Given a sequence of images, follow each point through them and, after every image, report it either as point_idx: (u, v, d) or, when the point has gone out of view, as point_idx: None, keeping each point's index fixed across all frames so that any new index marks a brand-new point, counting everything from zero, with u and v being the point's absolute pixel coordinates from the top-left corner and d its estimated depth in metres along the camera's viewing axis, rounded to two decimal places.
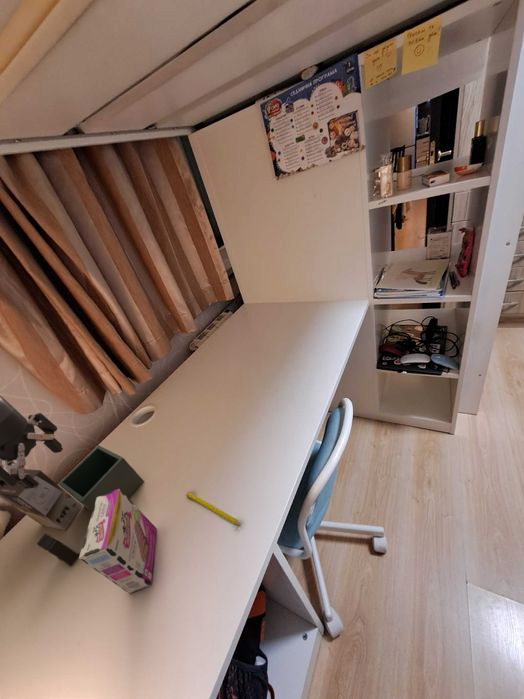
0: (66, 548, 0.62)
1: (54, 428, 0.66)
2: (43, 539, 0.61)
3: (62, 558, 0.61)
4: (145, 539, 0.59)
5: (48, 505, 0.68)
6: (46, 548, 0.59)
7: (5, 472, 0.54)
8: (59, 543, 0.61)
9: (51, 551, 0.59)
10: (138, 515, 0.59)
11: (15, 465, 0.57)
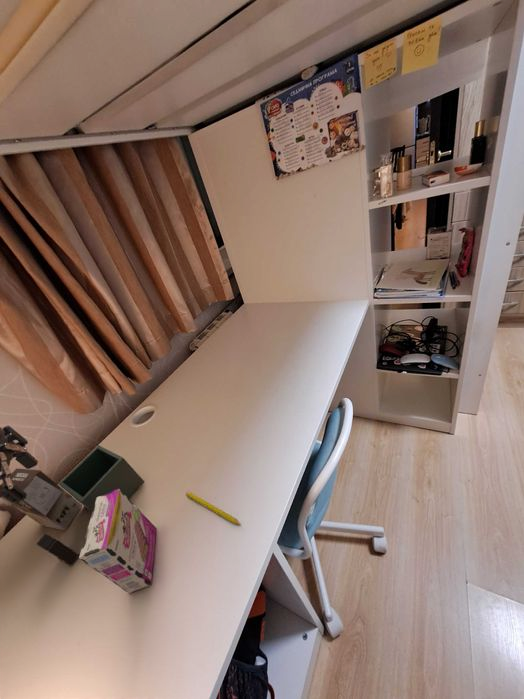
0: (66, 548, 0.62)
1: (25, 441, 0.62)
2: (43, 539, 0.61)
3: (62, 558, 0.61)
4: (145, 539, 0.59)
5: (48, 505, 0.68)
6: (46, 548, 0.59)
7: None
8: (59, 543, 0.61)
9: (51, 551, 0.59)
10: (138, 515, 0.59)
11: (0, 476, 0.53)
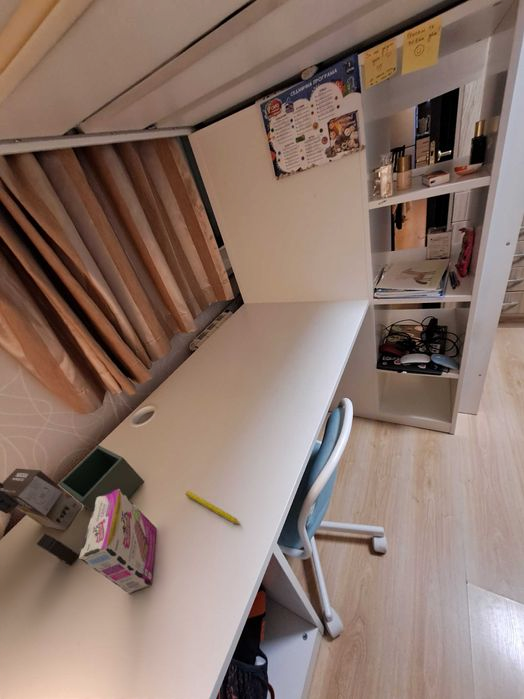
0: (66, 548, 0.62)
1: None
2: (43, 539, 0.61)
3: (62, 558, 0.61)
4: (145, 539, 0.59)
5: (48, 505, 0.68)
6: (46, 548, 0.59)
7: None
8: (59, 543, 0.61)
9: (51, 551, 0.59)
10: (138, 515, 0.59)
11: None
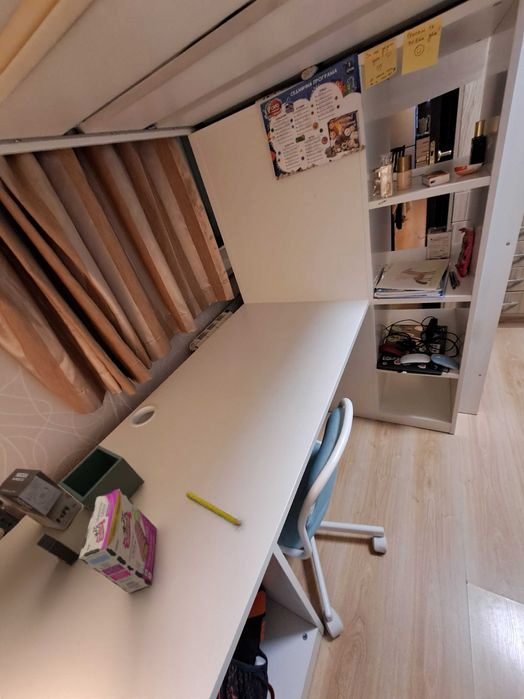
0: (66, 548, 0.62)
1: None
2: (43, 539, 0.61)
3: (62, 558, 0.61)
4: (145, 539, 0.59)
5: (48, 505, 0.68)
6: (46, 548, 0.59)
7: None
8: (59, 543, 0.61)
9: (51, 551, 0.59)
10: (138, 515, 0.59)
11: None
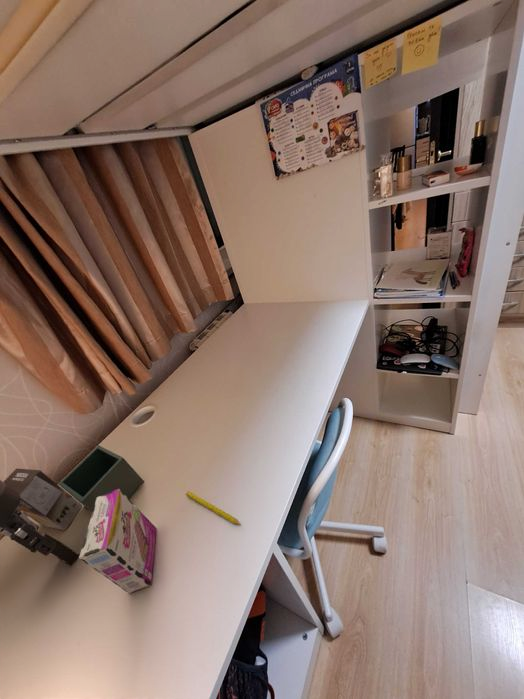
0: (66, 548, 0.62)
1: None
2: None
3: (62, 558, 0.61)
4: (145, 539, 0.59)
5: (48, 505, 0.68)
6: None
7: (34, 530, 0.53)
8: (59, 543, 0.61)
9: None
10: (138, 515, 0.59)
11: None
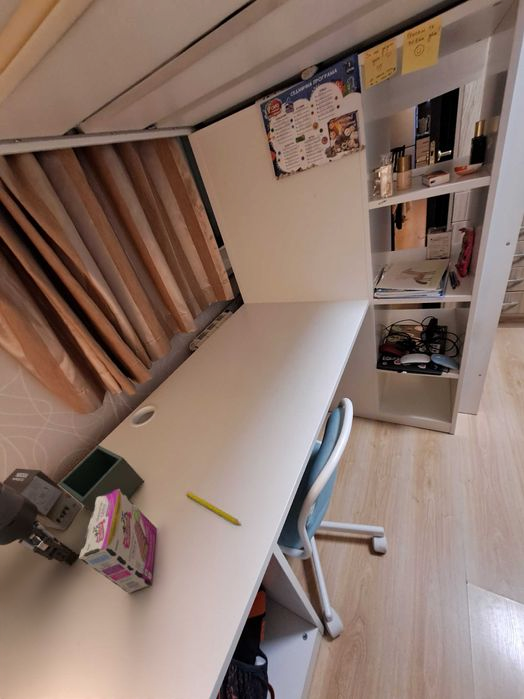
0: (66, 548, 0.62)
1: None
2: None
3: None
4: (145, 539, 0.59)
5: (48, 505, 0.68)
6: None
7: (52, 540, 0.57)
8: None
9: None
10: (138, 515, 0.59)
11: None
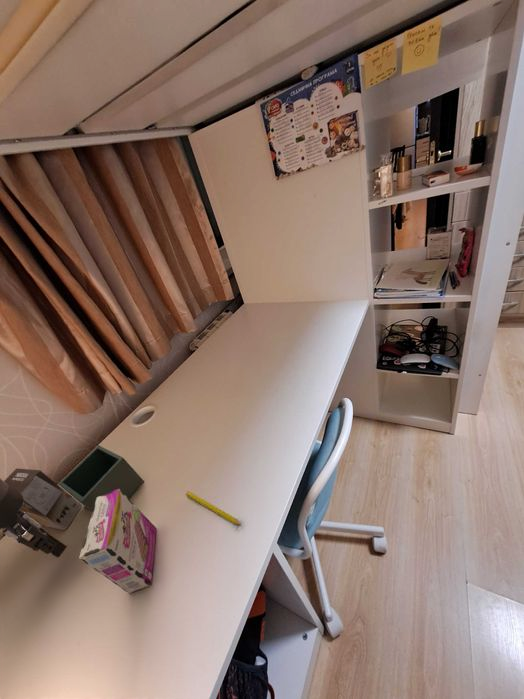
0: (53, 539, 0.60)
1: None
2: None
3: None
4: (145, 539, 0.59)
5: (48, 505, 0.68)
6: None
7: (38, 531, 0.55)
8: (46, 534, 0.59)
9: None
10: (138, 515, 0.59)
11: None
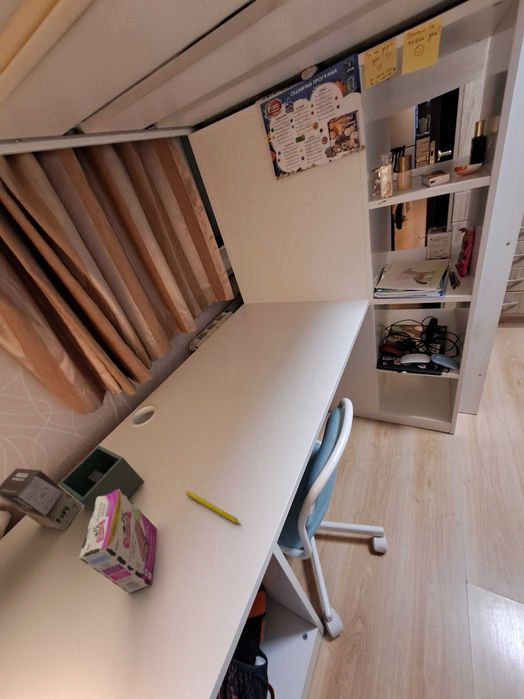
0: None
1: None
2: (93, 474, 0.71)
3: None
4: (145, 539, 0.59)
5: (48, 505, 0.68)
6: (97, 481, 0.70)
7: None
8: None
9: None
10: (138, 515, 0.59)
11: None
